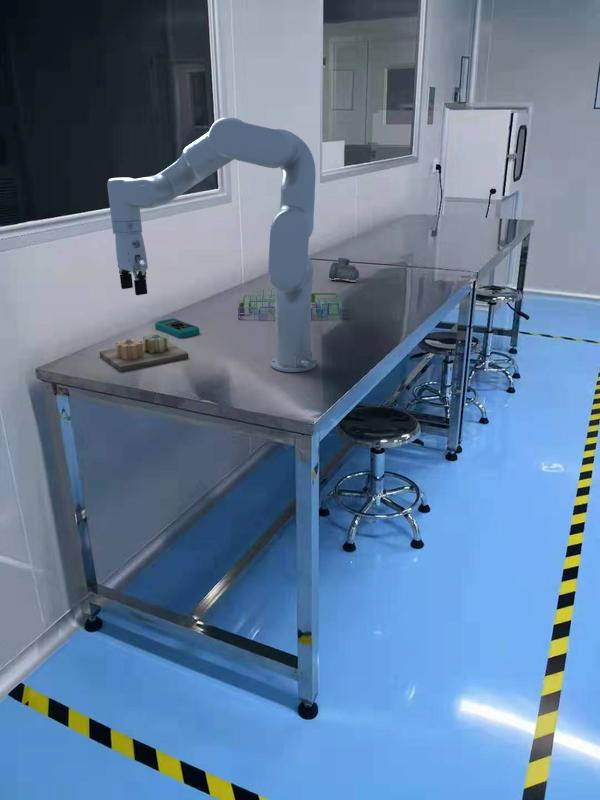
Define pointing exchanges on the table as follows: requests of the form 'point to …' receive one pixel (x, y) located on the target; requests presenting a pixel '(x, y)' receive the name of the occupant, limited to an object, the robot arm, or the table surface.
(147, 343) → the green gear
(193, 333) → the digital multimeter
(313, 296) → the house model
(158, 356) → the gear board
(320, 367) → the table surface
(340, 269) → the pipe fitting
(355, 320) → the table surface
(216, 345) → the table surface
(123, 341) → the tan gear
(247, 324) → the table surface
